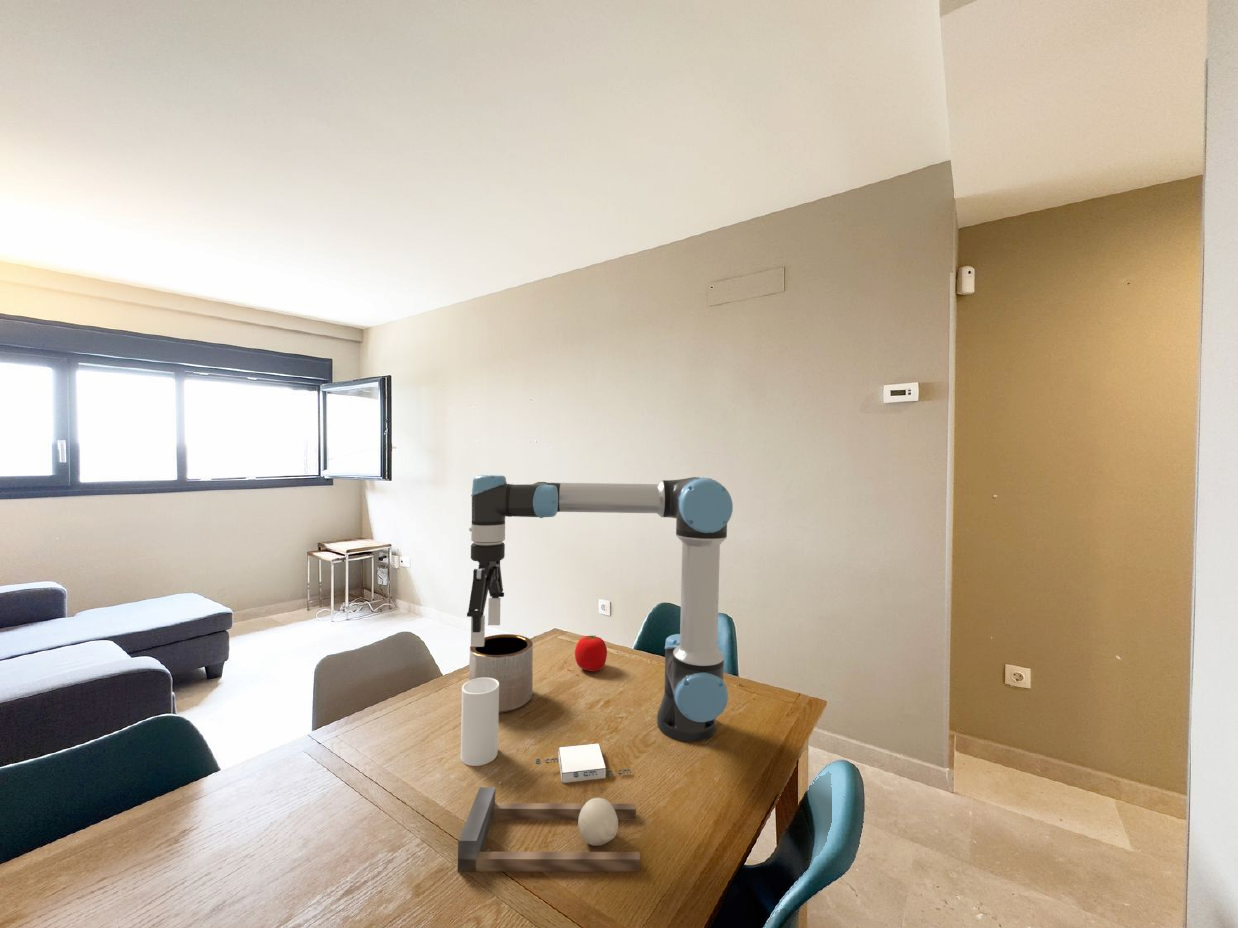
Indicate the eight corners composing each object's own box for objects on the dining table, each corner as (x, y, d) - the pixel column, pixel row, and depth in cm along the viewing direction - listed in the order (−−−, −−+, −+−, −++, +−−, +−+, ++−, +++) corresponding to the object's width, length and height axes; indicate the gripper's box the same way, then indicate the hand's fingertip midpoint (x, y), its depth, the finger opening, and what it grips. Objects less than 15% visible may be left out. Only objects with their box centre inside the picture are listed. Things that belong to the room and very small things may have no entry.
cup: (487, 768, 105) (488, 695, 105) (453, 762, 106) (454, 691, 106) (503, 746, 113) (505, 679, 113) (471, 742, 114) (473, 675, 114)
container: (621, 750, 113) (621, 739, 113) (632, 782, 102) (632, 769, 102) (534, 760, 109) (535, 748, 109) (536, 793, 97) (536, 780, 97)
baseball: (599, 863, 80) (600, 823, 80) (570, 840, 85) (571, 802, 85) (626, 840, 85) (626, 803, 85) (597, 819, 90) (598, 784, 90)
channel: (635, 813, 92) (635, 787, 92) (639, 871, 79) (640, 840, 79) (479, 813, 91) (479, 787, 91) (457, 870, 78) (458, 840, 78)
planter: (545, 695, 138) (546, 641, 138) (499, 722, 123) (500, 662, 123) (501, 679, 148) (502, 629, 148) (454, 703, 133) (455, 647, 133)
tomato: (594, 678, 150) (595, 644, 150) (568, 670, 156) (569, 637, 156) (613, 667, 159) (613, 634, 159) (587, 659, 164) (588, 628, 164)
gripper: (486, 534, 122) (485, 617, 122) (452, 551, 97) (450, 656, 97) (516, 534, 122) (514, 617, 122) (489, 552, 97) (487, 656, 97)
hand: (486, 634), depth 109 cm, fingers open, 13 cm apart
